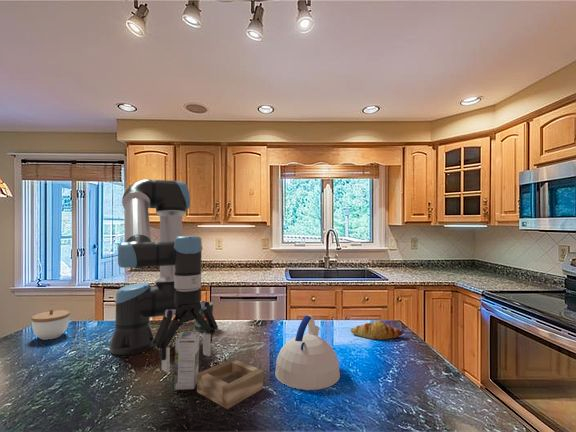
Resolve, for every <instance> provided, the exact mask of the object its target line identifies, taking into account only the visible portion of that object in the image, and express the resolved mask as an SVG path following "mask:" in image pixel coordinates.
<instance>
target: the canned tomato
mask: <svg viewBox="0 0 576 432" xmlns="http://www.w3.org/2000/svg"><path fill="white" fill-rule="evenodd" d="M208 302H209V304H210V310H211V312H212V315H213V316H214V311H213V310H214V303H213V302H212V301H208ZM200 303H202V301H200ZM199 313H200V314H201V315H202V317H203V319H204V320H205V321H206V322H207V319H206V317H205V315H204V313H203V310H202V309H200V311H199ZM207 323H208V322H207ZM194 330H195V332H206V331H205V330H204V329H203V328H202V327H201V325H200V324H199V323H198V322H197V321H196V320H195V319H194Z"/></svg>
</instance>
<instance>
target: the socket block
mask: <svg viewBox="0 0 576 432" xmlns="http://www.w3.org/2000/svg"><path fill="white" fill-rule="evenodd" d="M261 390H264V370H263V369H260V368H258V367H255V366H252V365H250V364H248V363H246V362H243V361H240V360H238V359H235V358H230V359H227V360H225V361H224V362H220V363H219V364H217V365H214V366H211V367H210V368H207V369H204V370H203V371H199V372H198V374H197V383H196V393H198V394H199V395H201V396H203V397H205V398H207V399H208V400H210V401H211V402H214V403H216V404H217V405H219V406H220V407H222V408H224V409H227V410H229V409H230V408H232V407H234V406H236V405H238V404H239V403H241V402H242V401H244V400H246V399H247V398H249V397H251V396H253V395H254V394H256V393H258V392H259V391H261Z"/></svg>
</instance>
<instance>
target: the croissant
mask: <svg viewBox="0 0 576 432" xmlns="http://www.w3.org/2000/svg"><path fill="white" fill-rule="evenodd" d="M350 332H351V333H352V334H353V335H356V336H358V337H363V338H366V339H369V340H370V339H371V340H388V339H394V338H395V339H396V338H399V337H400V336H402V335H403V334H404V331H403V329H399V328H397V327H394V326H393V327H392V326H391V325H390V324H387V323H385V322H384V321H382V320H379V319H378V320H377V319H376V320H374V321H372V322H365V323H364V324H362V325H356V326H354V327H351V328H350Z"/></svg>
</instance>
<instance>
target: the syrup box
mask: <svg viewBox="0 0 576 432" xmlns="http://www.w3.org/2000/svg"><path fill="white" fill-rule="evenodd" d="M174 344H175V346H174V347H175V348H174V379H173V380H174V381H173V384H174V385H173V390H175V391H178V390H179V391H180V390H184V391H185V390H194V389H196V387H197V374H198V373H200V371H199V370H200V369H199V367H200V365H199V363H200V331H181V332H180V333H179V334H178V335H177V337H176V338H175V342H174Z"/></svg>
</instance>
